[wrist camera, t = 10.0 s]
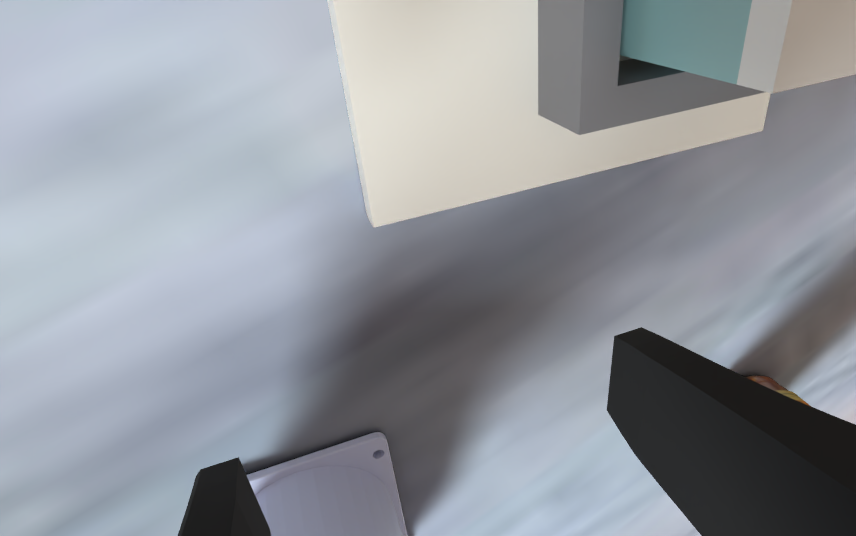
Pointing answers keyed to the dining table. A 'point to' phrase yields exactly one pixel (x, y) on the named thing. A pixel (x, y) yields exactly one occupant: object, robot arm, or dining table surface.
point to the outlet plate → (510, 99)
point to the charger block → (745, 39)
